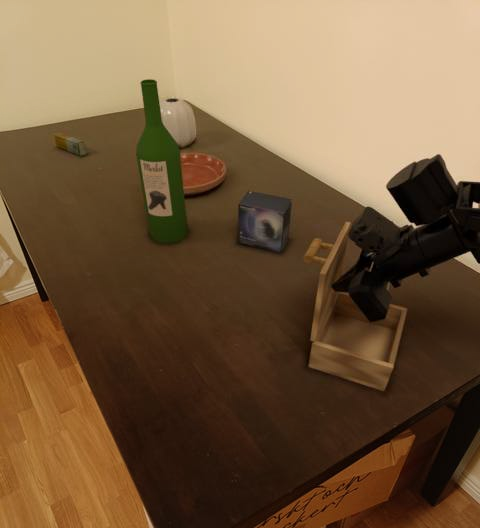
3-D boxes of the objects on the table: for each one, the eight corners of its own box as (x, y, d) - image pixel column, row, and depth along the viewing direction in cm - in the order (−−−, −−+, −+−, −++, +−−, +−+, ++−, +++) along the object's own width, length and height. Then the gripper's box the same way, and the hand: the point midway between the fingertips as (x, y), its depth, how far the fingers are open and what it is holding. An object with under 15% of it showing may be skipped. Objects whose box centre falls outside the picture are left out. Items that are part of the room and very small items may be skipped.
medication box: (87, 154, 134) (85, 141, 132) (80, 156, 133) (78, 143, 130) (62, 144, 139) (60, 131, 137) (55, 146, 137) (53, 133, 135)
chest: (399, 331, 78) (407, 308, 74) (384, 391, 68) (393, 368, 64) (331, 312, 81) (335, 289, 77) (308, 367, 72) (312, 343, 68)
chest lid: (350, 222, 68) (322, 216, 69) (325, 274, 58) (293, 266, 59) (338, 288, 77) (313, 281, 78) (315, 342, 67) (287, 334, 69)
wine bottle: (146, 243, 98) (118, 88, 76) (153, 222, 105) (130, 74, 82) (185, 244, 98) (168, 89, 75) (190, 223, 104) (176, 74, 82)
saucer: (139, 169, 126) (137, 157, 124) (214, 159, 131) (213, 147, 129) (152, 206, 111) (150, 193, 108) (236, 193, 116) (236, 180, 113)
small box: (236, 244, 98) (236, 202, 91) (247, 230, 102) (247, 189, 95) (280, 254, 95) (284, 212, 88) (289, 239, 99) (293, 198, 92)
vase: (162, 155, 134) (156, 109, 124) (151, 139, 143) (144, 95, 134) (203, 148, 138) (201, 103, 128) (190, 133, 147) (186, 90, 138)
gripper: (405, 169, 61) (320, 220, 72) (381, 234, 49) (282, 284, 60) (444, 229, 64) (357, 269, 75) (431, 305, 52) (329, 340, 63)
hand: (333, 287), depth 68 cm, fingers closed, pressing on chest lid
